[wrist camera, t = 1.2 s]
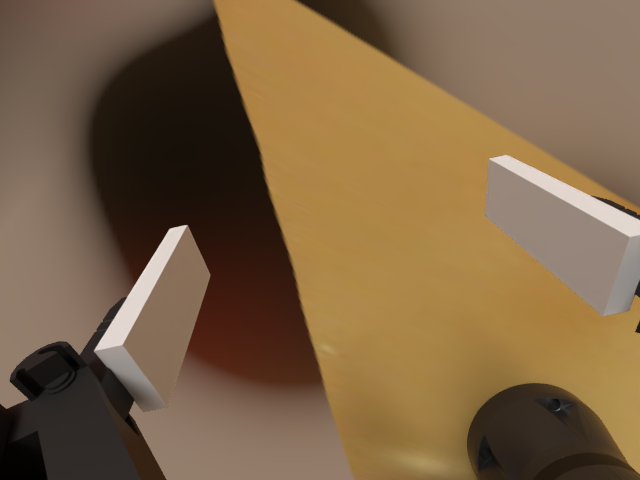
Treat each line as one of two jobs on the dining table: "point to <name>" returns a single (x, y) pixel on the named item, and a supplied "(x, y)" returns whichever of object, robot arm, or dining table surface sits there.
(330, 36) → the dining table surface
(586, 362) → the dining table surface
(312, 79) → the dining table surface
